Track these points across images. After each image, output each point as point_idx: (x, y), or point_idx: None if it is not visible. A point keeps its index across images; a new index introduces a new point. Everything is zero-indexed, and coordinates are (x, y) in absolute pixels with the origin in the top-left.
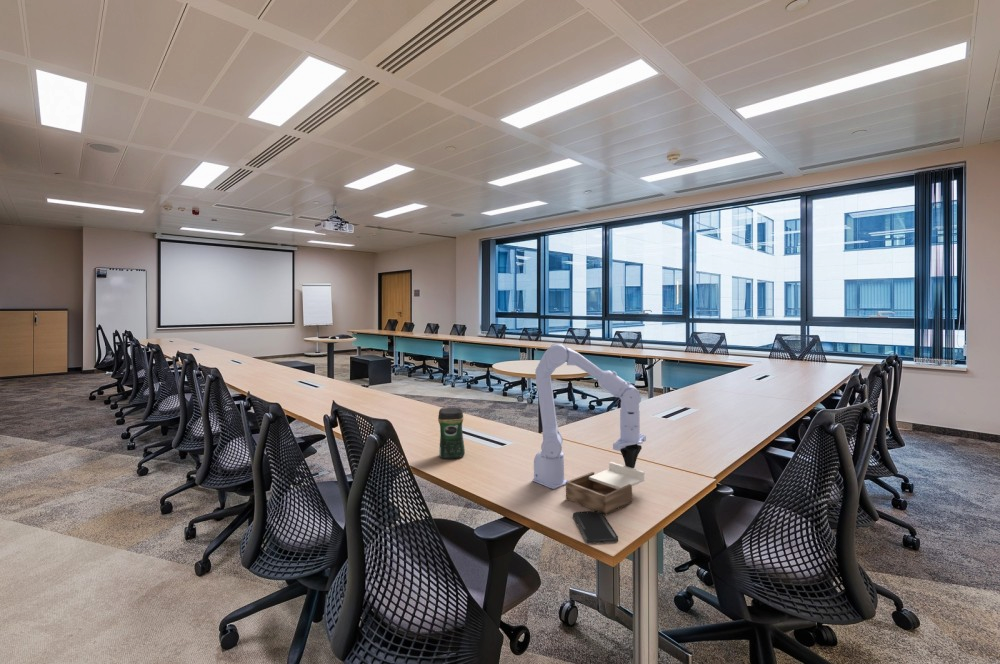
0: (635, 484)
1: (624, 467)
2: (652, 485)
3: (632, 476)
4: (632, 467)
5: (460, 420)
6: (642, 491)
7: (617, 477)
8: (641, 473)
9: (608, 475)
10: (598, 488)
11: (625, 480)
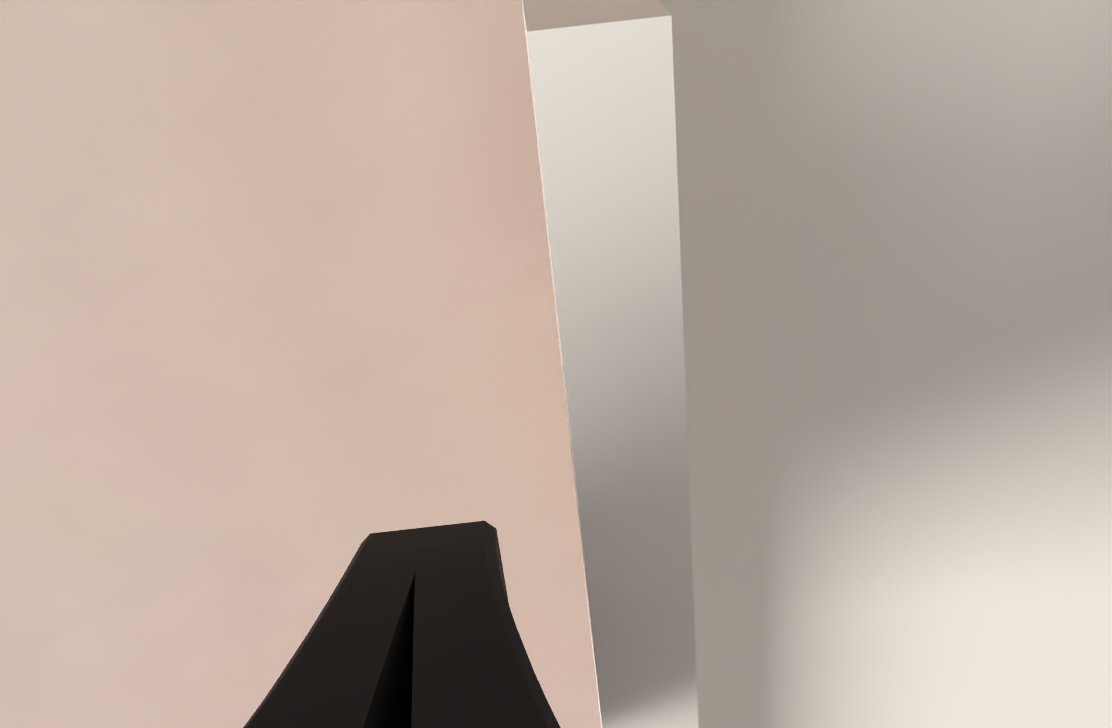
0: None
1: (690, 651)
2: (14, 126)
3: (686, 298)
4: (477, 552)
5: None
6: (463, 38)
7: (1027, 459)
8: (660, 52)
9: (1049, 629)
10: None
11: (1089, 217)
